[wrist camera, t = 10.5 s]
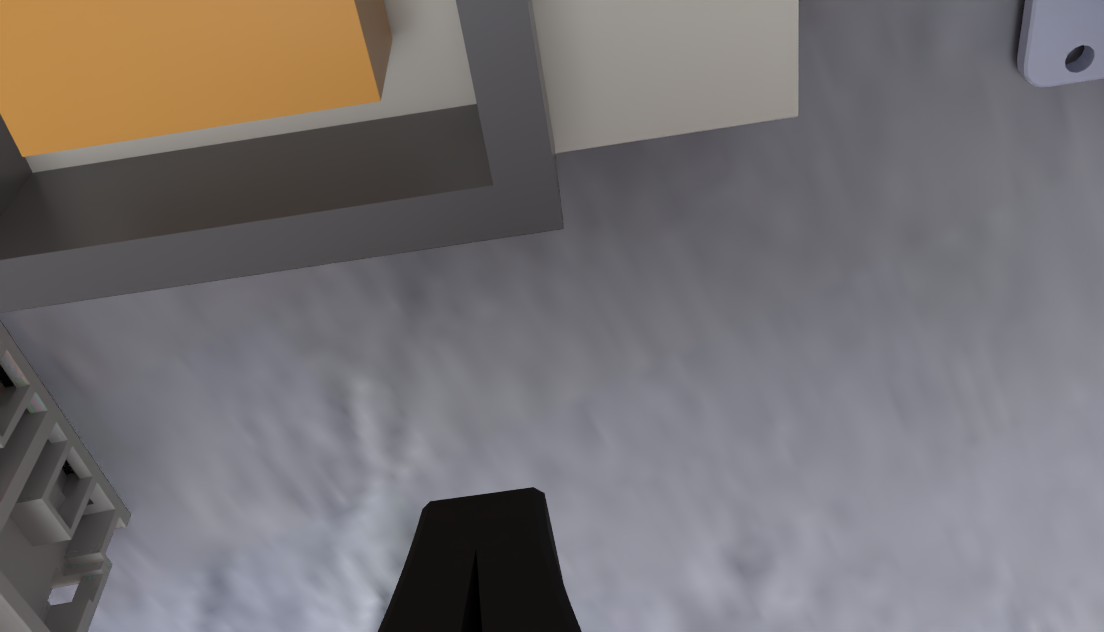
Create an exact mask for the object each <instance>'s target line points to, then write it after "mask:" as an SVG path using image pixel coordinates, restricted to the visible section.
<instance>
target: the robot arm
mask: <svg viewBox="0 0 1104 632" xmlns="http://www.w3.org/2000/svg"><path fill="white" fill-rule="evenodd" d="M1081 45H1084V51H1083V53H1082V55H1081V56H1080V57H1079V58H1078V59H1077V60H1076V61H1074V62H1072V63H1069V64H1065V60H1066V58H1067V55H1068V54H1069V53H1070V52H1071V51H1072V50H1073V49H1074V48H1076V47H1079V46H1081ZM1017 66H1018V70H1019V72H1020V73H1021V75H1022V76H1023V77H1024V78H1025V79H1026V80H1027V81H1028V82H1029V83H1030V84H1032V85H1034V86H1036V87H1052V86H1058V85H1065V84H1072V83H1078V82H1085V81H1091V80H1098V79H1104V0H1025V5H1024V12H1023V20H1022V27H1021V34H1020V42H1019V49H1018V56H1017ZM378 632H582V631H581V629H580V626H579V624H578V621H577V619H576V616H575V614H574V612H573V609H572V607H571V604H570V601H569V598H568V596H567V593H566V590H565V587H564V584H563V579H562V574H561V570H560V565H559V560H558V555H557V551H556V546H555V541H554V536H553V532H552V527H551V522H550V517H549V513H548V508H547V503H546V499H545V494H544V493H543V492H541V491H539V490H538V489H536V488H534V487H532V488H525V489H517V490H510V491H503V492H495V493H488V494H481V495H474V496H466V497H459V498H452V499H444V500H437V501H430V502H429V503H428V504H427V505H426V506H425V507H424V508H423V509H422V513H421V516H420V519H419V523H418V526H417V530H416V533H415V536H414V539H413V542H412V545H411V548H410V551H409V554H408V556H407V559H406V562H405V565H404V568H403V570H402V573H401V576H400V578H399V581H398V583H397V586H396V589H395V591H394V594H393V596H392V599H391V601H390V604H389V607H388V609H387V611H386V614H385V616H384V618H383V621H382V623H381V625H380V628H379V630H378Z"/></svg>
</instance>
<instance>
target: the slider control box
mask: <svg viewBox="0 0 1104 632" xmlns="http://www.w3.org/2000/svg"><path fill="white" fill-rule="evenodd" d="M383 3H384V7H385V11H386V15H387V19H388V23H389V27H390V31H391V35H392V39H393V41H392V46H391V51H390V56H389V61H388V66H387V72H386V77H385V82H384V87H383V92H382V97H381V101H379V102H372V103H366V104H360V105H353V106H347V107H340V108H334V109H327V110H321V111H315V112H308V113H302V114H295V115H289V116H283V117H276V118H270V119H263V120H257V121H251V122H244V123H238V124H231V125H225V126H218V127H212V128H206V129H199V130H193V131H186V132H180V133H174V134H167V135H161V136H154V137H148V138H142V139H135V140H129V141H122V142H116V143H109V144H103V145H97V146H90V147H84V148H77V149H71V150H65V151H58V152H52V153H45V154H39V155H33V156H26V157H22V155H21V153H20V151H19V149H18V147H17V145H16V143H15V141H14V139H13V138H12V136H11V134H10V132H9V130H8V128H7V126H6V124H5V122H4V120H3V118H2V116H1V114H0V313H3V312H9V311H16V310H23V309H29V308H36V307H43V306H50V305H56V304H63V303H70V302H76V301H83V300H90V299H96V298H103V297H110V296H117V295H123V294H130V293H137V292H143V291H150V290H157V289H164V288H170V287H177V286H184V285H190V284H197V283H204V282H211V281H217V280H224V279H231V278H237V277H244V276H251V275H257V274H264V273H271V272H278V271H284V270H291V269H298V268H304V267H311V266H318V265H325V264H331V263H338V262H345V261H351V260H358V259H365V258H372V257H378V256H385V255H392V254H398V253H405V252H412V251H418V250H425V249H432V248H439V247H445V246H452V245H459V244H465V243H472V242H479V241H486V240H492V239H499V238H506V237H512V236H519V235H526V234H533V233H539V232H546V231H553V230H559V229H564V226H563V217H562V208H561V199H560V190H559V181H558V173H557V164H556V155H555V153H561V152H568V151H574V150H581V149H587V148H594V147H600V146H607V145H613V144H620V143H627V142H633V141H640V140H646V139H653V138H659V137H666V136H673V135H679V134H686V133H692V132H699V131H705V130H712V129H718V128H725V127H732V126H738V125H745V124H751V123H758V122H764V121H771V120H777V119H784V118H791V117H797V116H798V0H383Z"/></svg>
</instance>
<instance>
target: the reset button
mask: <svg viewBox="0 0 1104 632" xmlns="http://www.w3.org/2000/svg"><path fill="white" fill-rule="evenodd" d="M392 41H393V39H392V35H391V31H390V27H389V23H388V19H387V15H386V11H385V7H384V3H383V0H0V114H1V116H2V118H3V120H4V122H5V124H6V126H7V128H8V130H9V132H10V134H11V136H12V138H13V139H14V141H15V143H16V145H17V147H18V149H19V151H20V153H21V155H22V157H26V156H33V155H39V154H45V153H52V152H58V151H65V150H71V149H77V148H84V147H90V146H97V145H103V144H109V143H116V142H122V141H129V140H135V139H142V138H148V137H154V136H161V135H167V134H174V133H180V132H186V131H193V130H199V129H206V128H212V127H218V126H225V125H231V124H238V123H244V122H251V121H257V120H263V119H270V118H276V117H283V116H289V115H295V114H302V113H308V112H315V111H321V110H327V109H334V108H340V107H347V106H353V105H360V104H366V103H372V102H379V101H381V97H382V92H383V87H384V82H385V77H386V72H387V66H388V61H389V56H390V51H391V46H392Z"/></svg>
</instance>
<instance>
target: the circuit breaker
mask: <svg viewBox="0 0 1104 632" xmlns="http://www.w3.org/2000/svg"><path fill="white" fill-rule="evenodd" d="M0 365H1V366H2V368H3V369H4V370H5V372H6V373H7V375H8V376H9V378H10V379H11V381H12V382H13V384H14V385H15V386H11V387H6V388H5V387H4V385H3V384H2V382H1V381H0V632H88V629H89V626H90V624H91V621H92V618H93V616H94V613H95V610H96V608H97V605H98V602H99V599H100V597H101V594H102V591H103V589H104V586H105V583H106V581H107V578H108V575H109V572H110V570H111V567H112V563H111V562H110V560H109V559H108V557H107V556H106V555H105V553H106V550H107V548H108V545H109V542H110V540H111V537H112V535H113V532H114V529H116V528H122V527H127V524H128V521H129V519H130V516H131V515H130V513H129V512H128V510H127V509H126V507H125V506H124V504H123V503H122V501H121V500H120V498H119V497H118V495H117V494H116V493H115V491H114V490H113V488H112V487H111V485H110V484H109V482H108V481H107V479H106V478H105V476H104V475H103V473H102V472H101V470H100V469H99V467H98V466H97V464H96V463H95V461H94V460H93V458H92V457H91V455H90V454H89V452H88V451H87V449H86V448H85V446H84V445H83V443H82V442H81V440H80V439H79V437H78V436H77V434H76V433H75V431H74V430H73V428H72V427H71V425H70V424H69V423H68V421H67V420H66V418H65V417H64V415H63V414H62V412H61V411H60V409H59V408H58V406H57V405H56V403H55V402H54V400H53V399H52V397H51V396H50V394H49V393H48V391H47V390H46V388H45V387H44V385H43V384H42V382H41V381H40V379H39V378H38V376H37V375H36V373H35V372H34V370H33V369H32V367H31V366H30V364H29V363H28V361H27V360H26V358H25V357H24V355H23V354H22V353H21V351H20V350H19V348H18V347H17V345H16V344H15V342H14V341H13V339H12V338H11V336H10V335H9V333H8V332H7V330H6V329H5V327H4V326H3V324H2V323H1V321H0ZM26 408H27V409H26ZM65 460H67V461H68V463H69V464H70V466H71V467H72V468H73V470H74V471H75V473H73V474H68V475H66V474H65V472H64V471H63V469H62V467H63V465H64V463H65ZM74 584H79V585H78V588H77V590H76V593H75V595H74V598H73V600H72V602H69V603H63V604H58V605H52V606H51V605H50V603H49V602H48V601H47V600H48V598H49V595H50V593H51V591H52V588H57V587H63V586H68V585H74Z"/></svg>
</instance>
